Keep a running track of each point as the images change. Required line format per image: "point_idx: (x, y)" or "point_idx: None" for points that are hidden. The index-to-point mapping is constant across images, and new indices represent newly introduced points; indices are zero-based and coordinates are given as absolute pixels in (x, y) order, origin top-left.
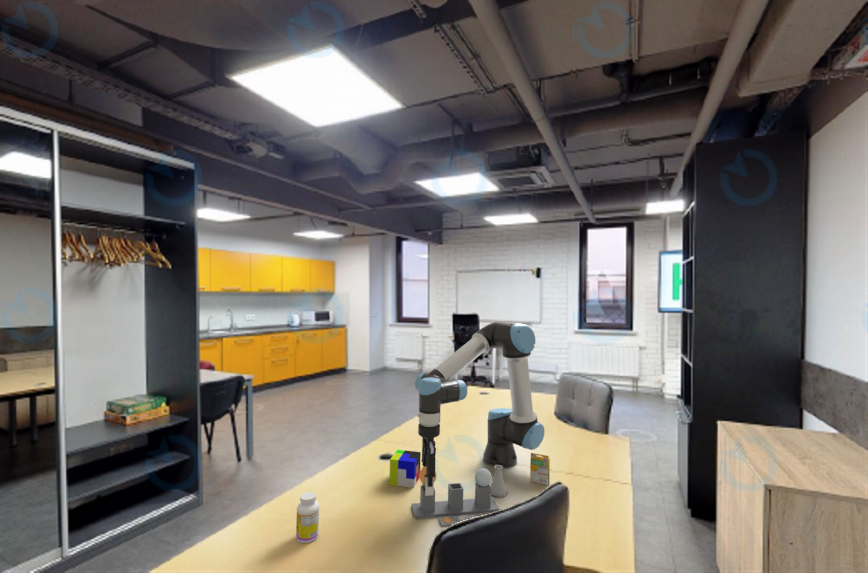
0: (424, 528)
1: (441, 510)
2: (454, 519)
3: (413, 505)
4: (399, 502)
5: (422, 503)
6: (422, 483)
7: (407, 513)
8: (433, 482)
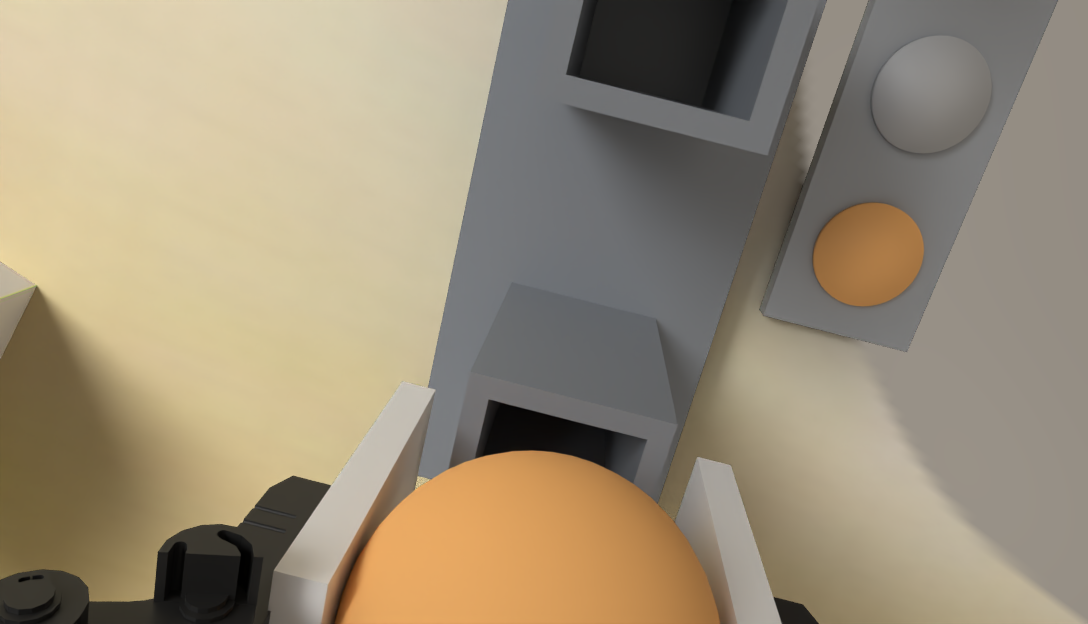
0: (833, 498)
1: (672, 240)
2: (892, 169)
3: None
4: None
5: None
6: None
7: None
8: (773, 602)
